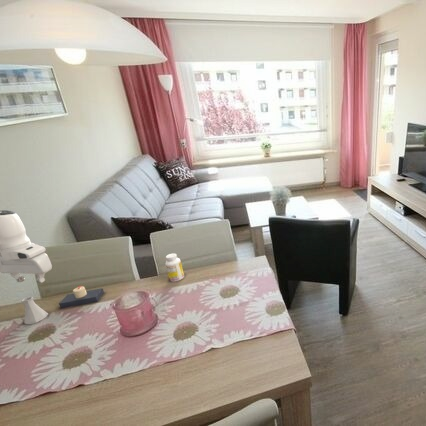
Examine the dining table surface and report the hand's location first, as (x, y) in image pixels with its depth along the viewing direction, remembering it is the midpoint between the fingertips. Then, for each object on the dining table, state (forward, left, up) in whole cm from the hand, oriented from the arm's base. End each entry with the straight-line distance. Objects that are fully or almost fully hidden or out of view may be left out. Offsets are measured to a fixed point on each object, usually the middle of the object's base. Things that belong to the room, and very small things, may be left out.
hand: (31, 281), depth 117 cm
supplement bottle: (+41, +30, -17) cm, 53 cm away
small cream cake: (+8, +10, -13) cm, 18 cm away
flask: (-2, -2, -17) cm, 17 cm away
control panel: (+8, +10, -17) cm, 21 cm away
